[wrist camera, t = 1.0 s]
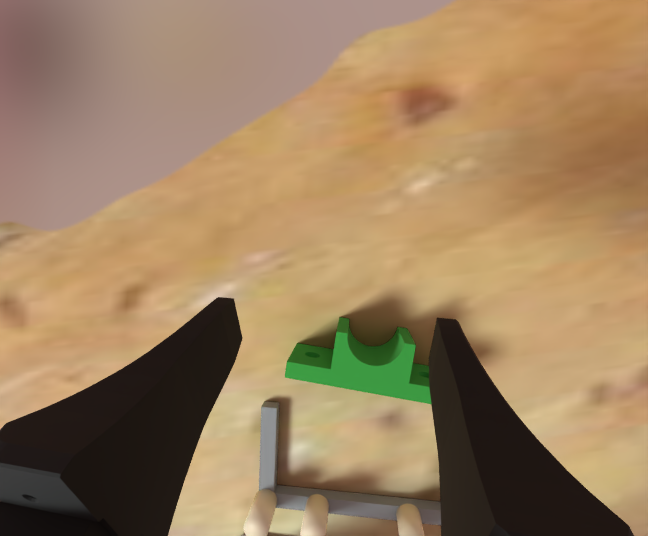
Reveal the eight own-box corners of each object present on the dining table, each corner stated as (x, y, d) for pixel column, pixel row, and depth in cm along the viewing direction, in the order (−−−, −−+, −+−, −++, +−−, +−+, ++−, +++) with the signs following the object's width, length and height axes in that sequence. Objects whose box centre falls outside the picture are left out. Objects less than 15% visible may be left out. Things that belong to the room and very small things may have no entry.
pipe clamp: (445, 333, 29) (463, 353, 24) (436, 380, 29) (452, 408, 24) (301, 310, 29) (291, 324, 25) (294, 356, 30) (284, 378, 25)
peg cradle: (470, 522, 29) (487, 567, 25) (258, 500, 31) (243, 539, 27) (478, 419, 29) (498, 449, 25) (260, 400, 30) (246, 426, 26)
